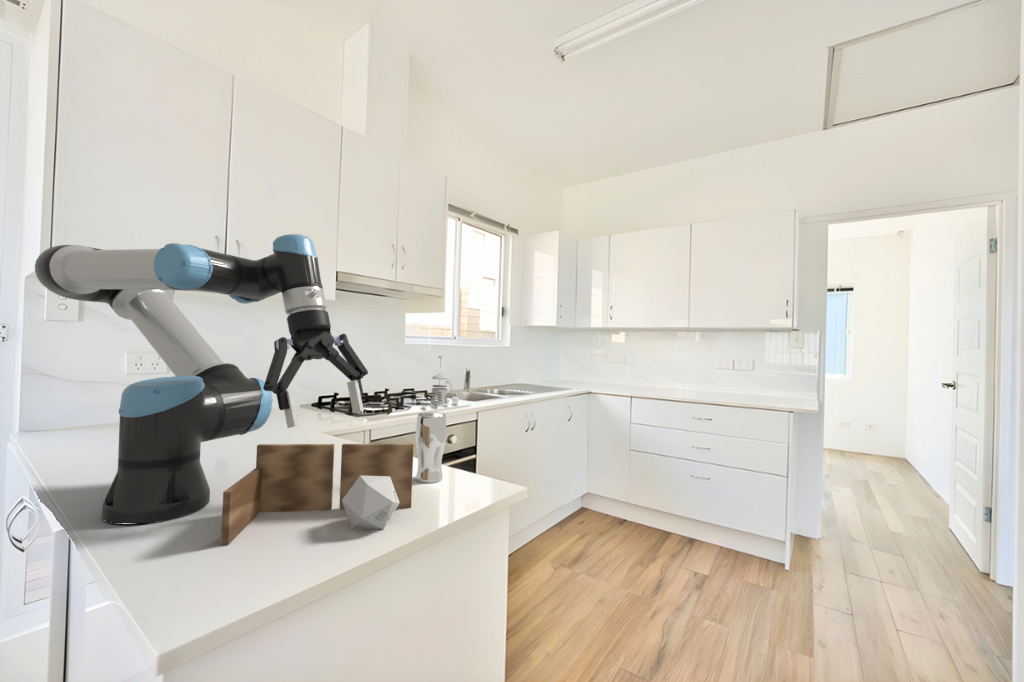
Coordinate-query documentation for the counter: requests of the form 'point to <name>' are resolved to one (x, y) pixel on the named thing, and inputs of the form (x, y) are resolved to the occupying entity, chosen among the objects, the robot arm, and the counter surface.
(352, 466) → the panel
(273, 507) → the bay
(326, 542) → the counter surface
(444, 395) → the french press
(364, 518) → the die
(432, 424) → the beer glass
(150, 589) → the counter surface
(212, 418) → the robot arm
